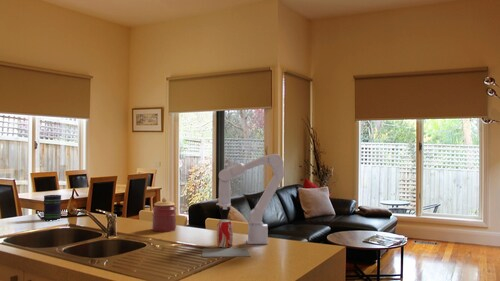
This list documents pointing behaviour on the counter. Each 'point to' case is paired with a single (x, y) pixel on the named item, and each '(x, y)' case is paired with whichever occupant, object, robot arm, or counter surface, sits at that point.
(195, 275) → the counter surface
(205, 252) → the mat
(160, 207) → the canister
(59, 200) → the storage jar
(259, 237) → the robot arm
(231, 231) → the soda can
